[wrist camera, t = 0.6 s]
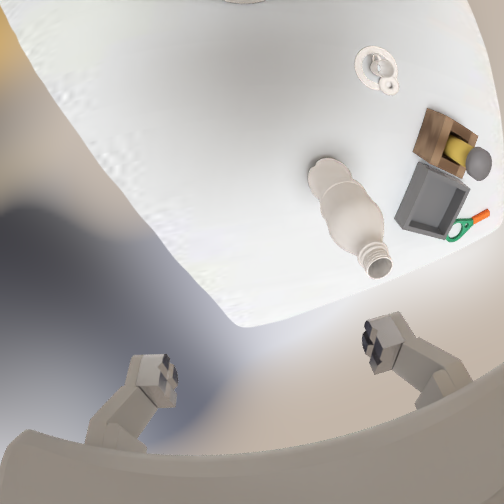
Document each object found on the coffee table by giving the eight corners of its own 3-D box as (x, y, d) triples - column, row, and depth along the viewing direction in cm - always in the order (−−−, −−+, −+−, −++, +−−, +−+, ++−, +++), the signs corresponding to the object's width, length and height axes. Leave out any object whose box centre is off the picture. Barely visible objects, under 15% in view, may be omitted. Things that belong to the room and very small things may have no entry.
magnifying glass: (444, 243, 55) (447, 247, 54) (442, 224, 52) (446, 228, 51) (486, 219, 51) (489, 223, 49) (486, 200, 47) (490, 204, 46)
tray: (418, 161, 43) (429, 169, 40) (459, 180, 45) (470, 188, 41) (394, 218, 51) (402, 229, 48) (436, 229, 52) (444, 240, 49)
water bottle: (297, 166, 45) (336, 261, 25) (334, 146, 43) (403, 227, 23) (316, 198, 49) (359, 302, 29) (351, 180, 46) (415, 274, 26)
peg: (431, 121, 38) (478, 145, 27) (450, 131, 39) (495, 157, 28) (423, 145, 41) (466, 174, 30) (442, 154, 42) (484, 184, 31)
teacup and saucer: (399, 94, 36) (410, 97, 33) (357, 95, 37) (367, 98, 34) (392, 47, 31) (404, 46, 28) (349, 45, 32) (359, 44, 29)
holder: (427, 108, 37) (446, 115, 32) (459, 126, 38) (478, 136, 33) (412, 151, 42) (429, 163, 37) (445, 166, 43) (461, 178, 38)
